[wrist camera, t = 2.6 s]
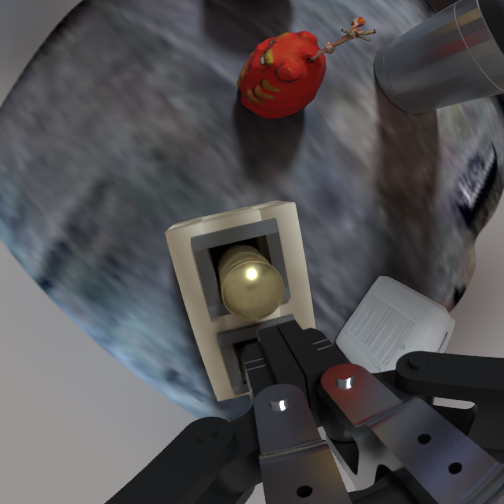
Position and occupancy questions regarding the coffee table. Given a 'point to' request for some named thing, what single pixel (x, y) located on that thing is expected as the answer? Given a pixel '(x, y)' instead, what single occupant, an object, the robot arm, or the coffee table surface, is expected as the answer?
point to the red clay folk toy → (287, 72)
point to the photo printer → (393, 326)
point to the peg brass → (249, 283)
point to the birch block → (209, 287)
